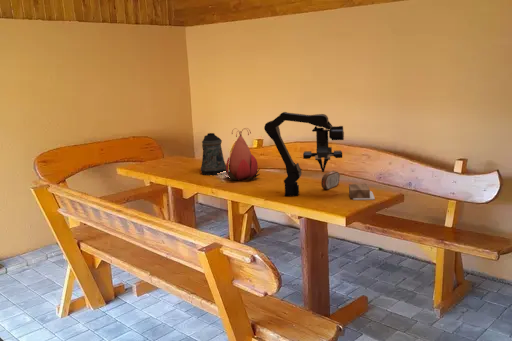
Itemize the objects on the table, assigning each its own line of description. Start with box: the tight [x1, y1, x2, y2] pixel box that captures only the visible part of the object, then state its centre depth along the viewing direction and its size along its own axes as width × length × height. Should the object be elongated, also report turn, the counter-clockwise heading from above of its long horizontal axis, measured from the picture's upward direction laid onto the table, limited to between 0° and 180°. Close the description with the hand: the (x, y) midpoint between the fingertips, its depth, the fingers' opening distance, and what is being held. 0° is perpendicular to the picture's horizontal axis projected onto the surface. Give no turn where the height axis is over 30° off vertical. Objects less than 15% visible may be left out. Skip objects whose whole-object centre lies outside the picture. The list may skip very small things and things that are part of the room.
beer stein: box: [200, 132, 226, 176], centre depth 303 cm, size 16×19×25 cm
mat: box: [352, 190, 376, 201], centre depth 234 cm, size 10×14×1 cm
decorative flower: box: [224, 127, 261, 182], centre depth 280 cm, size 22×23×30 cm
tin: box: [320, 170, 341, 190], centre depth 252 cm, size 15×3×8 cm, turn 141°
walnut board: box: [348, 183, 371, 199], centre depth 234 cm, size 4×12×9 cm
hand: (323, 171), depth 236 cm, fingers closed
